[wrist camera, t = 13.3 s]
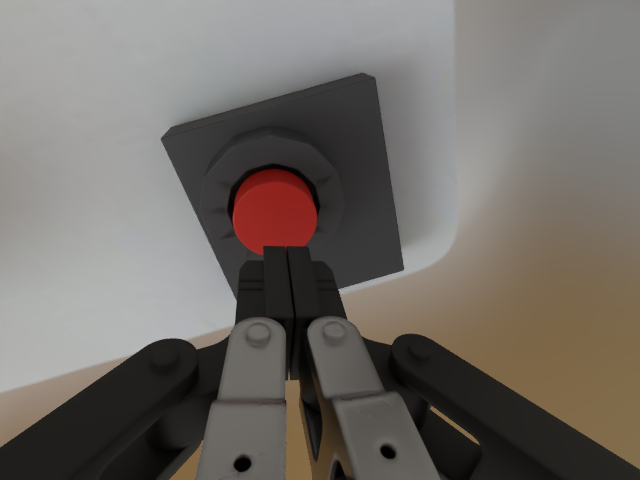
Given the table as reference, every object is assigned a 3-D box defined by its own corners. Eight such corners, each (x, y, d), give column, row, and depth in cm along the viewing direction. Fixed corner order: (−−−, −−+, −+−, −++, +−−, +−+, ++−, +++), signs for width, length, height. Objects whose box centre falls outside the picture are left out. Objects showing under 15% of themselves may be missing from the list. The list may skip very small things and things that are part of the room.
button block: (170, 127, 18) (149, 149, 15) (363, 72, 18) (387, 81, 15) (245, 294, 24) (242, 338, 20) (393, 251, 24) (415, 288, 20)
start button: (222, 180, 16) (219, 195, 15) (301, 158, 16) (305, 171, 15) (249, 247, 18) (249, 266, 17) (320, 227, 18) (325, 244, 17)
